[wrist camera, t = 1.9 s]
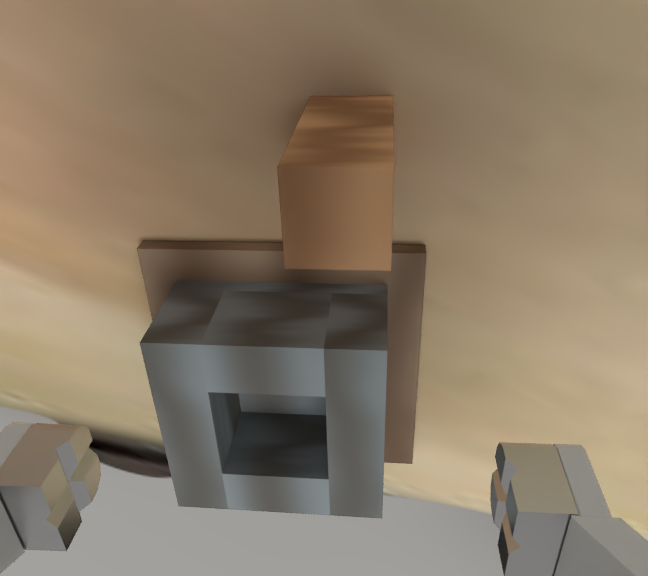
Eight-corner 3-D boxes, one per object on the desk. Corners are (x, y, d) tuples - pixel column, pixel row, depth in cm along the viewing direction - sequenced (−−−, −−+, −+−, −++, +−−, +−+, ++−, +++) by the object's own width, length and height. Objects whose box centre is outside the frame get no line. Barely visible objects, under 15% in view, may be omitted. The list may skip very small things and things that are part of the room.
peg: (392, 95, 28) (394, 167, 20) (390, 174, 30) (391, 270, 22) (310, 96, 29) (277, 167, 20) (313, 174, 31) (284, 268, 22)
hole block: (425, 245, 32) (433, 316, 26) (411, 452, 41) (415, 542, 35) (143, 240, 34) (90, 307, 28) (185, 441, 42) (152, 525, 36)
